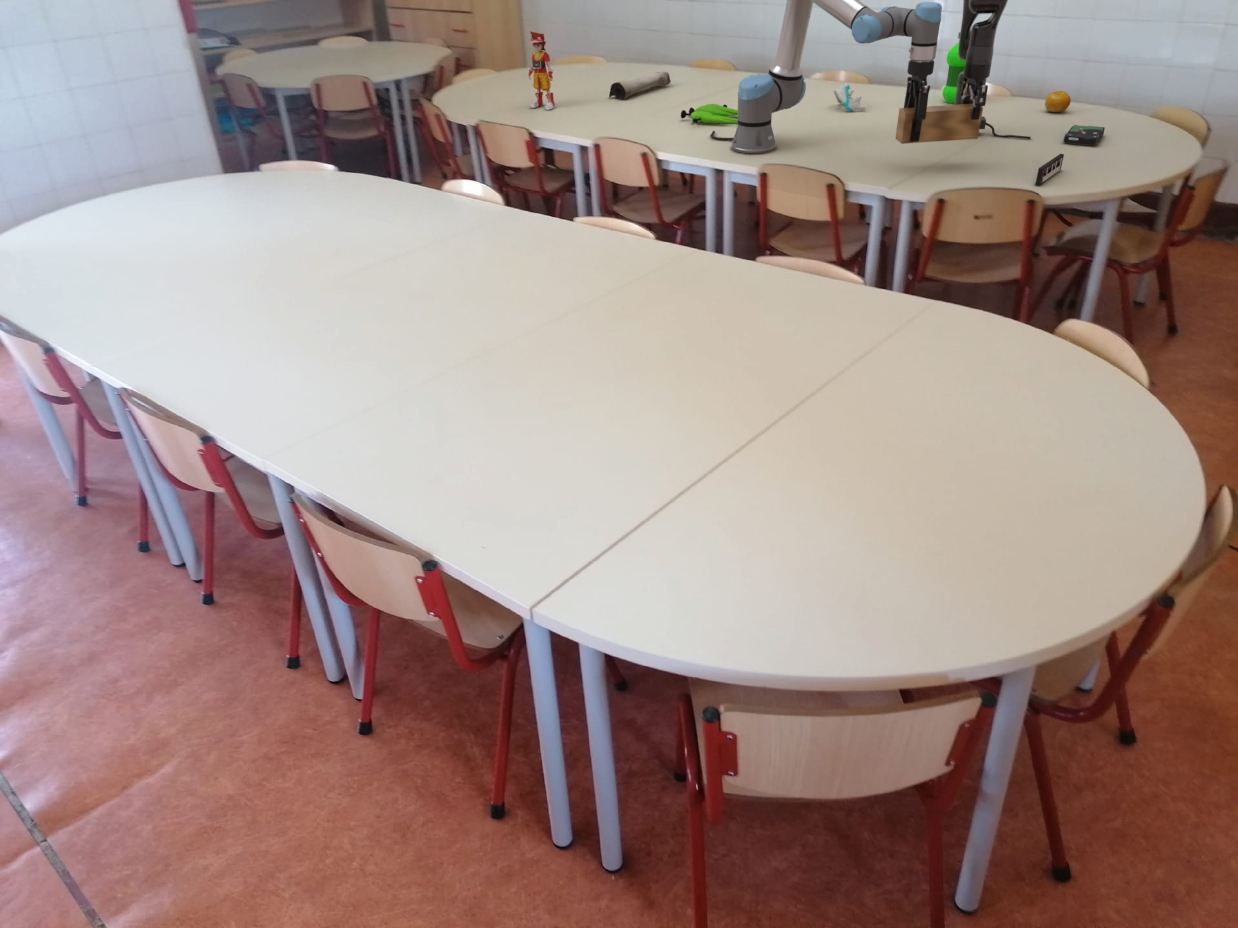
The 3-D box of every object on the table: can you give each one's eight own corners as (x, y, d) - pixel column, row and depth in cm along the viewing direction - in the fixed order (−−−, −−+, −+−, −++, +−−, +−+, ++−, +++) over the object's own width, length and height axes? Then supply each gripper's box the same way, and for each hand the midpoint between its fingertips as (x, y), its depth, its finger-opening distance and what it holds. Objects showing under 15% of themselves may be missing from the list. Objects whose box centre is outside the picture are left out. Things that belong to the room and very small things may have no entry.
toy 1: (525, 109, 381) (517, 32, 364) (534, 104, 388) (527, 28, 371) (550, 110, 377) (543, 32, 360) (559, 105, 384) (553, 28, 367)
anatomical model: (829, 82, 357) (854, 75, 356) (832, 108, 363) (856, 101, 362) (839, 90, 345) (865, 83, 344) (842, 117, 351) (867, 111, 350)
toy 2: (670, 122, 346) (740, 135, 334) (671, 108, 344) (742, 120, 331) (703, 111, 367) (770, 123, 354) (704, 98, 364) (772, 109, 351)
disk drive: (1096, 147, 298) (1103, 135, 308) (1098, 138, 296) (1105, 126, 306) (1062, 144, 302) (1070, 132, 312) (1064, 135, 301) (1072, 124, 311)
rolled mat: (651, 76, 408) (662, 61, 399) (662, 93, 408) (674, 79, 400) (605, 92, 391) (616, 77, 383) (617, 110, 391) (628, 95, 383)
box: (970, 133, 287) (975, 103, 282) (977, 138, 282) (983, 108, 277) (895, 138, 287) (899, 108, 281) (901, 144, 282) (905, 113, 276)
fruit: (1041, 103, 332) (1056, 84, 329) (1039, 107, 340) (1054, 87, 337) (1060, 116, 331) (1076, 96, 328) (1058, 119, 339) (1073, 100, 335)
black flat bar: (1039, 185, 269) (1043, 168, 266) (1035, 184, 270) (1038, 168, 267) (1060, 170, 279) (1064, 154, 277) (1056, 169, 280) (1060, 153, 277)
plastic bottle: (973, 101, 354) (984, 32, 339) (955, 106, 349) (966, 36, 335) (952, 97, 361) (962, 29, 346) (934, 102, 356) (944, 33, 342)
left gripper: (899, 54, 278) (889, 131, 292) (920, 67, 263) (908, 147, 276) (923, 53, 278) (912, 129, 292) (945, 65, 263) (932, 146, 276)
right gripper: (957, 56, 277) (949, 111, 287) (975, 66, 266) (966, 123, 275) (981, 55, 277) (972, 109, 287) (1000, 64, 266) (990, 121, 275)
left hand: (910, 138), depth 284 cm, fingers closed on box, 6 cm apart
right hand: (969, 116), depth 281 cm, fingers open, 8 cm apart
